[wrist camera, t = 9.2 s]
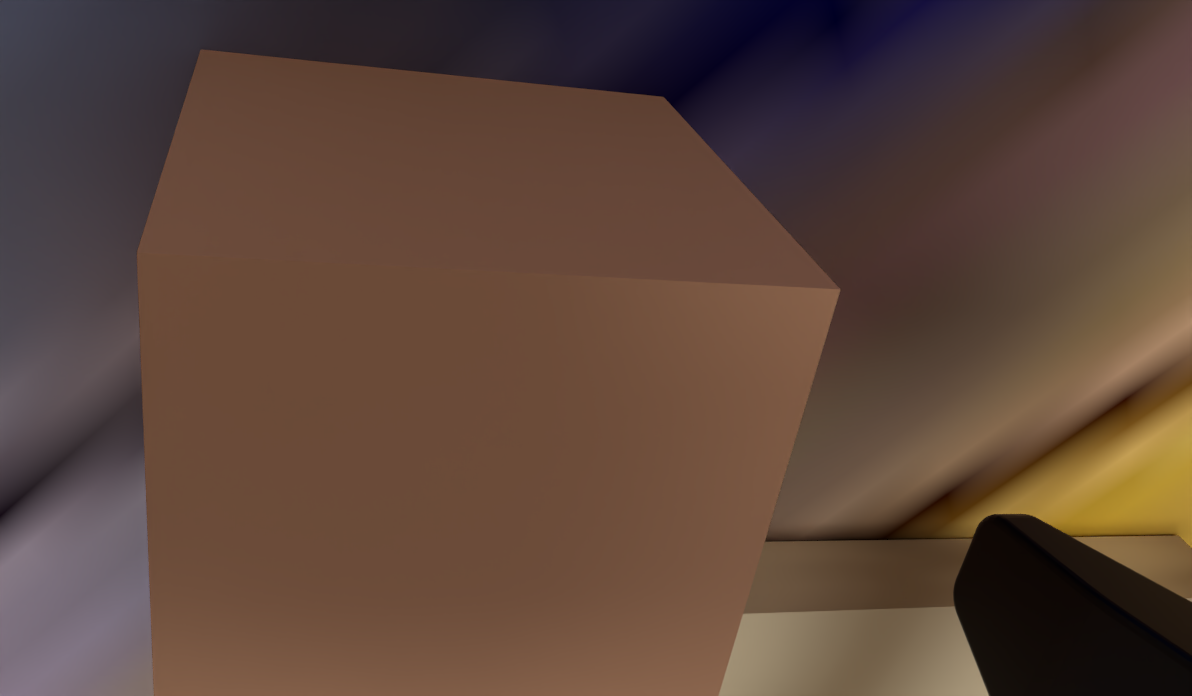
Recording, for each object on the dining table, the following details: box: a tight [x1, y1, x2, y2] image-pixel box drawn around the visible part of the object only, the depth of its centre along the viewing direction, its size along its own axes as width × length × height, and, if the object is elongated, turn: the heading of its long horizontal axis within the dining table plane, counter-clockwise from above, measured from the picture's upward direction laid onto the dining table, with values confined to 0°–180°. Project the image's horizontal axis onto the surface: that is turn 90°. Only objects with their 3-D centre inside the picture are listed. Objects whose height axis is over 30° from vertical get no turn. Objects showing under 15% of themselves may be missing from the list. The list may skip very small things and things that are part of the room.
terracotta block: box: [137, 49, 841, 696], centre depth 11 cm, size 5×5×5 cm
